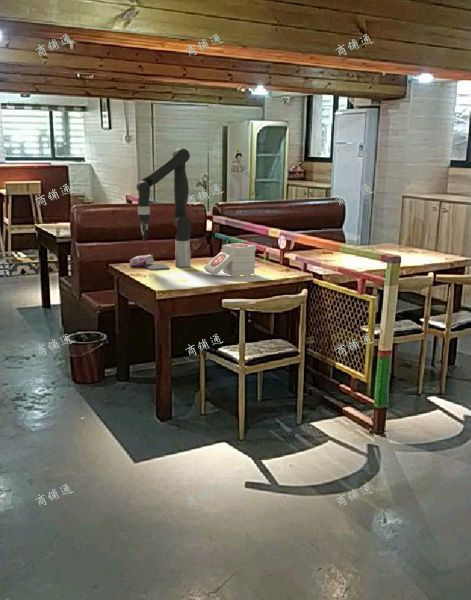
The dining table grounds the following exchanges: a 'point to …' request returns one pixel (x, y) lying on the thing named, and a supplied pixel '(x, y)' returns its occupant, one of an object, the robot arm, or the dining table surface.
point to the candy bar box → (141, 260)
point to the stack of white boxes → (233, 260)
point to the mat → (157, 267)
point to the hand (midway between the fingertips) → (144, 240)
